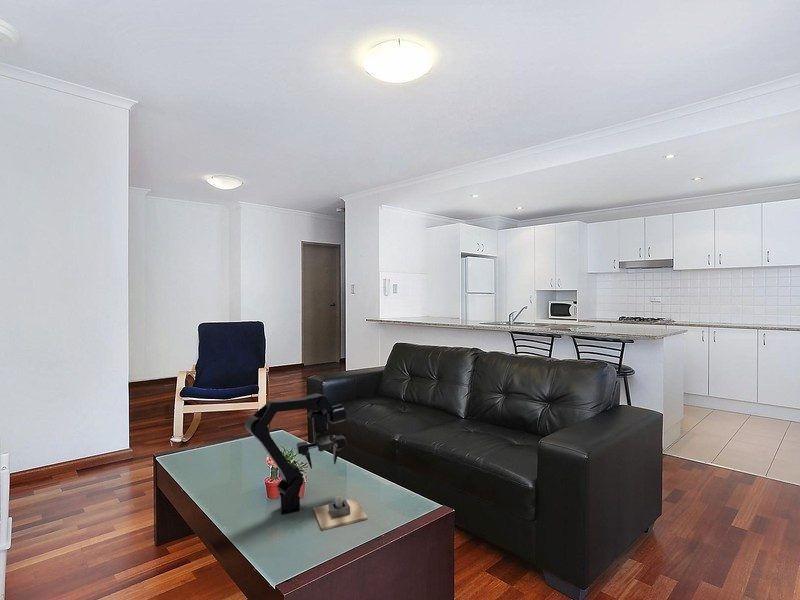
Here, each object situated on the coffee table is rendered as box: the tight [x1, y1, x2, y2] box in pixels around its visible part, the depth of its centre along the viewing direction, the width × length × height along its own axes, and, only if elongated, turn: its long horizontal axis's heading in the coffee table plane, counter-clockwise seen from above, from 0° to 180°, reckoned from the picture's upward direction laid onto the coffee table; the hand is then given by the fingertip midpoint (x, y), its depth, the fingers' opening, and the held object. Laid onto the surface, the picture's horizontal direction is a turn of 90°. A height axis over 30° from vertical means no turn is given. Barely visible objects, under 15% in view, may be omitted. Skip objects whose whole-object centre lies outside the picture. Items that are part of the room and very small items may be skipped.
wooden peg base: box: [312, 495, 368, 531], centre depth 160 cm, size 16×16×6 cm
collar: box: [327, 499, 350, 518], centre depth 160 cm, size 6×6×2 cm
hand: (323, 466), depth 175 cm, fingers open, 9 cm apart
